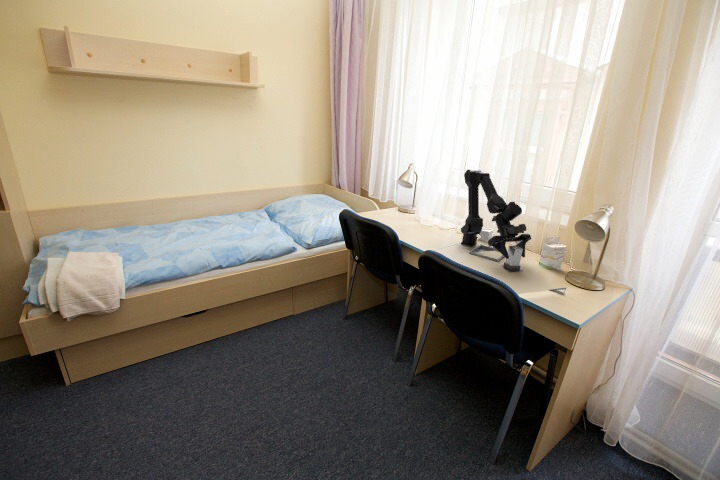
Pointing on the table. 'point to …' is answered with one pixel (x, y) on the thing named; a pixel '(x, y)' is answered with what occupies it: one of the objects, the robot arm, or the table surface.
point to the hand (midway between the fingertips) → (516, 257)
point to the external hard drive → (558, 290)
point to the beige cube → (486, 235)
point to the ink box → (552, 253)
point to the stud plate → (511, 271)
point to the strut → (513, 258)
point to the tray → (481, 249)
